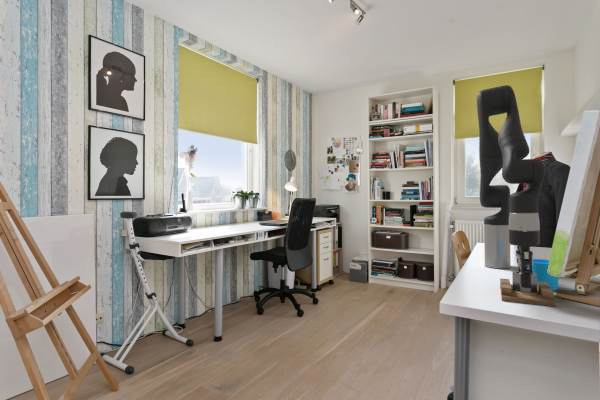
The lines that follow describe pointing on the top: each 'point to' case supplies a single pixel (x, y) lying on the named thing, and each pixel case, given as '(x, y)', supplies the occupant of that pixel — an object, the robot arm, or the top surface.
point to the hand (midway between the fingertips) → (524, 284)
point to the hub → (517, 283)
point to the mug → (544, 273)
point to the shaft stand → (527, 294)
